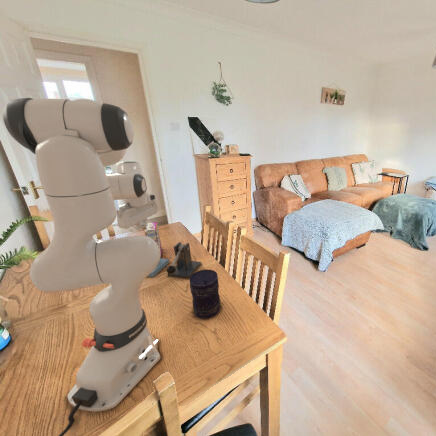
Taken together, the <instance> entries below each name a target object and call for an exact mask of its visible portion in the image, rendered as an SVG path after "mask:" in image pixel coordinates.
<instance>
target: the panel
mask: <svg viewBox="0 0 436 436" xmlns="http://www.w3.org/2000/svg"><path fill="white" fill-rule="evenodd" d="M169 260H170V259H169V258H162V257H161V258H160V261H159V264H158V265H157V267H156V268H155V269H154V270H153V271H152V272H151V273H150V274H149V275H148V276H147V278H154V277H156V275H157V274H158V273H160V272H161V271H162V270H164V268H165V267H167V266H168V265H169V263H170V261H169Z"/></svg>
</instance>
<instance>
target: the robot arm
mask: <svg viewBox="0 0 436 436" xmlns="http://www.w3.org/2000/svg"><path fill="white" fill-rule="evenodd" d="M2 119H3V123H4V126H5V128H6V130H7V132H8V133H9V135H10V136H11V137H12V138H13V139H14V140H15V142H17V143H18V144H19V145H20V146H22V147H23V148H24V149H28V150H29V151H30V152H31V153H32V154H34V155H35V161H36V162H35V163H36V169H37V174H38V178H39V181H40V182H39V183H40V185H41V188H42V191H43V194H44V197H45V199H46V201H47V203H48V207H49V211H50V213H51V218H52V221H53V226H54V231H53V236H52V239H51V241H50V243H49V244H48V246H47V247H46V248H45V249H44V250H43V251H42V252H40V253H39V254H38V255H36V257H35V258H34V259H33V261H32V262H31V265H30V268H29V278H30V281H31V283H32V284H33V286H35V288H37V290H39V291H41V292H43V293H45V294H50V293H62V292H63V293H64V292H65V293H66V292H74V291H78V290H84V289H88V288H92V287H97V286H102V285H107V284H108V286H106V287H104V288H103V289H101V290H100V291H99V292H98V293H97V294H96V295H94V297H93V298H92V299H91V301H90V303H89V307H88V312H89V315H90V317H91V320H92V324H93V326H94V329H93V330H94V331H93V338H89V337H86V338H85V339H83V340H82V343H81V346H82V347H84V348H90V350H89V351H88V353H87V355H86V356H85V358H84V360H83V361H82V363H81V365H80V367H79V369H78V371H76V375H75V384H74V385H73V387H72V388H71V389H70V391H68V394H67V401H68V403H69V404H70V406H72V407H73V408H72V409H71V411H70V412H69V415H68V418H67V420H68V424H67V426H66V427H65V428H64V430H63V431H62V432H61V433H59V435H58V436H64V435H65V434H66V433H67V432H68V431H70V429H71V428H72V426H73V425H74V423H75V420H76V419H75V414H76V412H77V411H78V410H81V411H86V412H104V411H108V410H112V409H113V408H115V407H117V406H118V405H119V404H120V403H121V402H122V401H123V400H124V399H125V397H126V396H127V395H128V394H129V393H130V392H131V391H132V390H133V389H134V388H135V387H136V386H137V385H138V383H139V382H141V381H142V379H143V378H144V377H145V376H146V375H147V374H148V373H149V372H150V371H151V370H152V368H154V366H155V365H156V364H157V363H158V362H159V361H160V360H161V354H160V352H159V350H158V349H159V348H158V345H159V344H158V341H159V339H156V338H155V337H154V336H153V334H152V333H151V331H150V329H149V326H148V320H147V319H148V318H147V316H146V311H145V310H144V308H143V307H142V302H141V296H140V295H141V294H140V291H141V287H142V284H143V282H144V281H145V280H146V278H148V275H149V274H150V273H151V272H152V271H153V270H154V269H155V268H156V267H157V265H158V264H159V261H160V256H161V257H162V252H161V253H160V248H159V246H158V244H157V243H156V242H155V241H154V240H153V239H152V238H150V237H146V235H144V236H140V235H135V236H134V235H133V236H132V235H131V236H130V235H127V236H123V237H116V238H110V239H109V238H108V239H102V240H95V239H94V237H95V235H98V234H99V233H100V232H102V231H105V230H106V229H107V228H109V227H110V226H112V224H113V223H114V222H115V221H116V222H117V226H118V228H119V229H125V230H127V229H130V228H131V227H133V226H136V228H137V230H138V231H139V232H140V231H141V232H142V231H145V229H146V226H147V223H148V219H149V218H151V217H152V216H154V215H156V214H158V212H159V205H158V200H157V195H156V194H155V193H148V192H147V190H148V187H147V182H146V181H147V180H146V178H145V177H144V173H143V171H142V168H141V166H140V165H141V164H140V163H139V162H137V161H121V160H122V159H123V158H124V157H125V155H126V153H127V150H128V149H129V148H130V147H131V146H132V144H133V142H134V141H133V139H134V134H135V131H134V130H135V129H134V125H133V123H132V121H131V118H130V117H129V115H128V113H127V112H126V111H125V110H124V109H122V108H121V107H119V106H118V105H114V104H111V103H105V102H104V103H102V104H101V103H99V102H98V101H95V100H92V99H88V98H78V99H74V100H73V99H72V100H71V99H68V98H32V97H22V98H21V97H20V98H15V99H11V100H9V101H7V103H6V104H5V106H4V107H3V110H2ZM115 164H116V173H108V174H107V172H106V170H105V169H106V168H105V167H109V166H113V165H115ZM119 200H120V201H121V200H122V201H123V204H122V205H119V206H118V208H117V207H116V204H115V201H119Z"/></svg>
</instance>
